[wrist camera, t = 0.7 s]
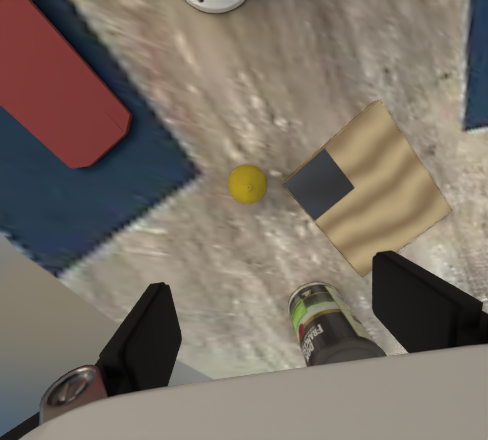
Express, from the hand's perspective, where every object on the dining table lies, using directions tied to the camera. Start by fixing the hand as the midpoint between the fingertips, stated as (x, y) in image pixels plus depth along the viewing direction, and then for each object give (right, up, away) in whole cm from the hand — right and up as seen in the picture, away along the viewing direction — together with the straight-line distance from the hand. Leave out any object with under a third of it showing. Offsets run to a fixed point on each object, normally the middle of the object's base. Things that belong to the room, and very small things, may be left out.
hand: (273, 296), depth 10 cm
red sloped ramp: (-29, +24, +22) cm, 43 cm away
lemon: (-1, +10, +26) cm, 28 cm away
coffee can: (+12, -13, +33) cm, 37 cm away
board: (+19, +7, +27) cm, 34 cm away
